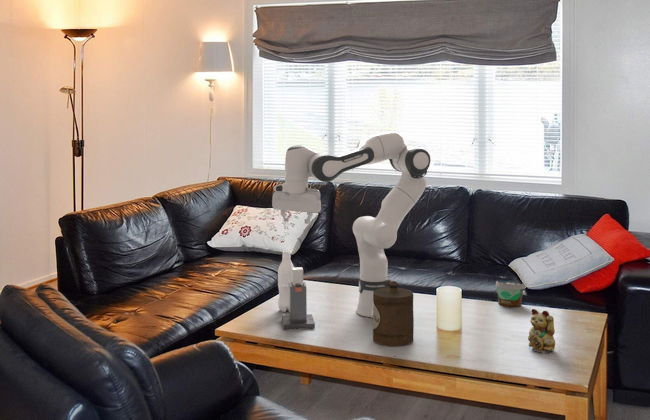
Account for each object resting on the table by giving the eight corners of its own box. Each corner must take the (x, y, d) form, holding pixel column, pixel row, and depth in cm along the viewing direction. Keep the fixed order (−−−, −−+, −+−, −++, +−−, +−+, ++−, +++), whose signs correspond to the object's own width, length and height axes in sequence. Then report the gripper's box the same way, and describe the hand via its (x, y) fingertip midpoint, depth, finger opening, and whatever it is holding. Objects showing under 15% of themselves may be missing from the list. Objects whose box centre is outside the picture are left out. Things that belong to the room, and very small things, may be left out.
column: (302, 316, 310) (302, 267, 307) (303, 319, 306) (303, 269, 303) (292, 317, 310) (291, 267, 307) (293, 320, 306) (292, 269, 303)
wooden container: (377, 332, 299) (378, 275, 295) (416, 335, 295) (417, 278, 291) (368, 344, 285) (368, 285, 281) (409, 348, 281) (410, 288, 277)
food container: (492, 306, 332) (493, 283, 330) (495, 302, 338) (495, 280, 336) (522, 309, 327) (523, 286, 326) (524, 305, 333) (525, 282, 331)
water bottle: (293, 313, 323) (292, 253, 319) (276, 312, 324) (275, 252, 320) (297, 308, 330) (296, 249, 326) (280, 307, 331) (280, 249, 327)
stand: (311, 319, 315) (311, 278, 312) (314, 328, 303) (314, 286, 301) (281, 320, 314) (281, 279, 311) (283, 329, 302) (283, 287, 299)
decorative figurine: (524, 350, 279) (525, 308, 276) (533, 344, 285) (535, 303, 283) (550, 355, 273) (552, 313, 270) (559, 349, 279) (561, 308, 277)
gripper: (324, 188, 304) (324, 223, 306) (278, 184, 313) (278, 219, 315) (316, 190, 298) (316, 226, 301) (270, 186, 308) (270, 221, 310)
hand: (296, 222), depth 308 cm, fingers open, 8 cm apart
